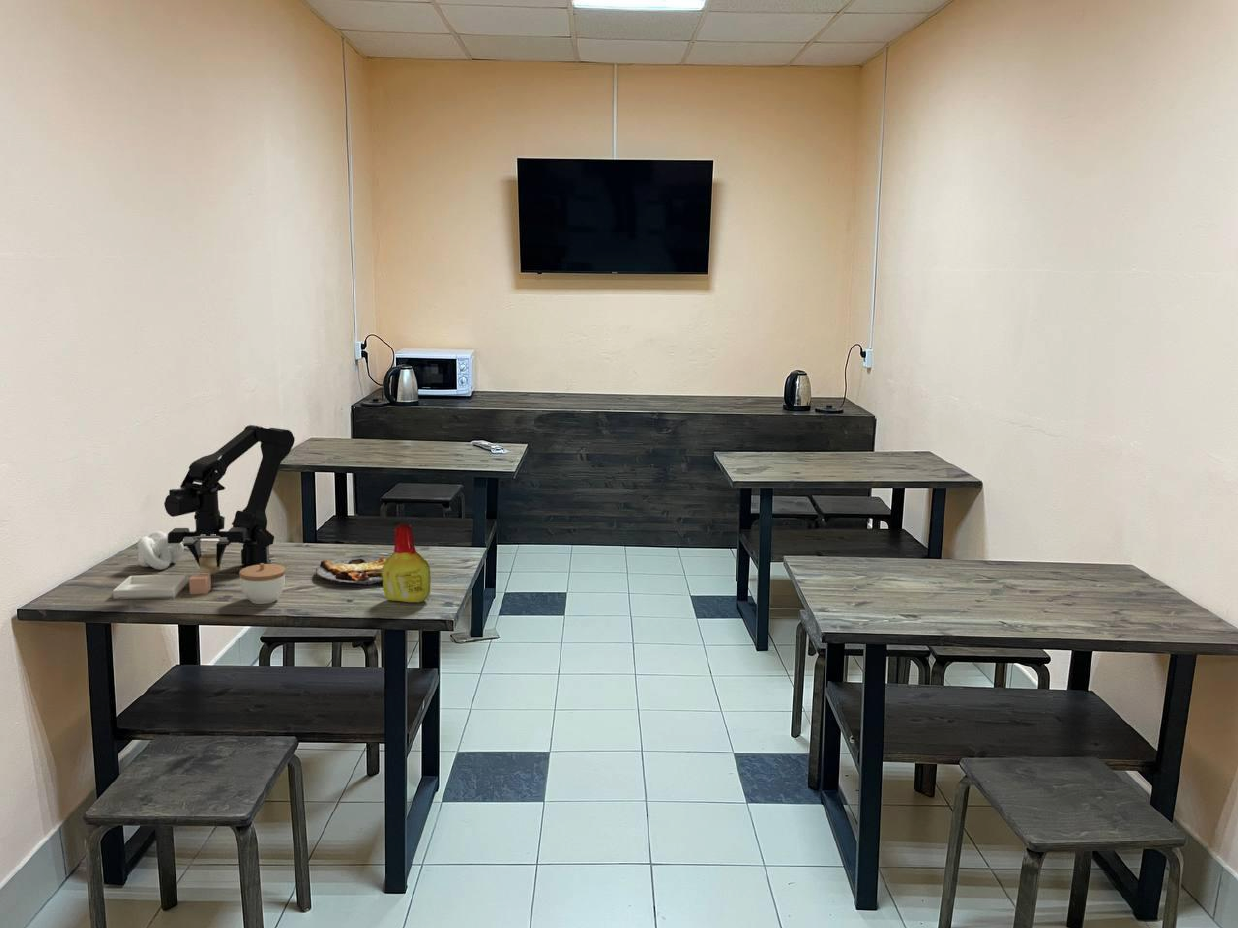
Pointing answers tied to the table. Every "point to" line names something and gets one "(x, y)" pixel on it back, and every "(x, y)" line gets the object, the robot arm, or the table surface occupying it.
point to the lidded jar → (262, 582)
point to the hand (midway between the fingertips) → (209, 566)
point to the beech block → (208, 563)
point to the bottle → (405, 570)
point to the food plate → (353, 569)
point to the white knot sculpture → (158, 551)
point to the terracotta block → (200, 584)
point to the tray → (150, 587)
